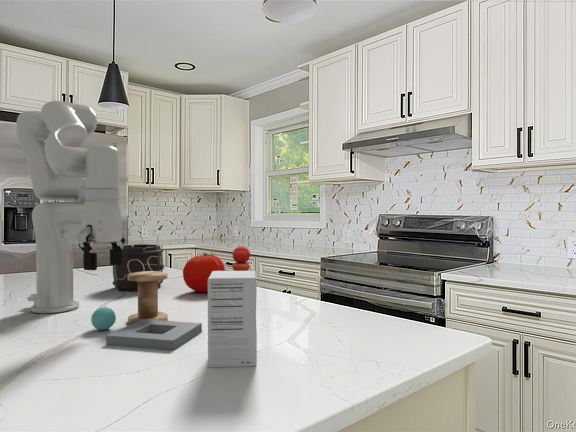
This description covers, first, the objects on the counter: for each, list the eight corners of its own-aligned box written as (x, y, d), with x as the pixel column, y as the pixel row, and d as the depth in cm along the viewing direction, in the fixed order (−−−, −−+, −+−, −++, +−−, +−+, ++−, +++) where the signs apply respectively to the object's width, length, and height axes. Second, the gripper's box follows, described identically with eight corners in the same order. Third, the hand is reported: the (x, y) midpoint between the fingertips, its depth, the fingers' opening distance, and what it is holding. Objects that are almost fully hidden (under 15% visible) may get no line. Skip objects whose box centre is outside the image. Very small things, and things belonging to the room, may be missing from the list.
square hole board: (106, 344, 94) (106, 335, 94) (142, 327, 107) (142, 319, 107) (173, 350, 90) (173, 340, 90) (201, 331, 104) (201, 323, 104)
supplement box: (211, 351, 89) (211, 270, 89) (256, 350, 90) (256, 269, 90) (207, 368, 80) (206, 277, 80) (257, 366, 81) (256, 276, 80)
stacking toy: (249, 314, 120) (249, 247, 120) (222, 313, 122) (222, 247, 121) (257, 308, 128) (257, 245, 127) (231, 307, 129) (231, 244, 129)
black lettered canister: (155, 292, 152) (155, 248, 152) (104, 292, 152) (104, 248, 152) (170, 283, 170) (170, 244, 170) (124, 283, 170) (124, 244, 170)
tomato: (217, 286, 163) (217, 250, 163) (232, 293, 151) (232, 254, 151) (176, 291, 155) (176, 253, 155) (188, 297, 143) (188, 256, 143)
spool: (119, 324, 110) (119, 276, 110) (141, 315, 120) (141, 270, 120) (155, 327, 108) (154, 277, 108) (174, 317, 117) (174, 271, 117)
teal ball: (86, 332, 103) (86, 309, 103) (101, 326, 109) (100, 304, 109) (106, 333, 102) (106, 310, 102) (120, 327, 107) (120, 305, 107)
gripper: (111, 198, 114) (112, 263, 114) (63, 196, 97) (64, 271, 97) (136, 197, 112) (137, 263, 112) (92, 195, 95) (93, 272, 96)
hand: (103, 267), depth 105 cm, fingers open, 9 cm apart
